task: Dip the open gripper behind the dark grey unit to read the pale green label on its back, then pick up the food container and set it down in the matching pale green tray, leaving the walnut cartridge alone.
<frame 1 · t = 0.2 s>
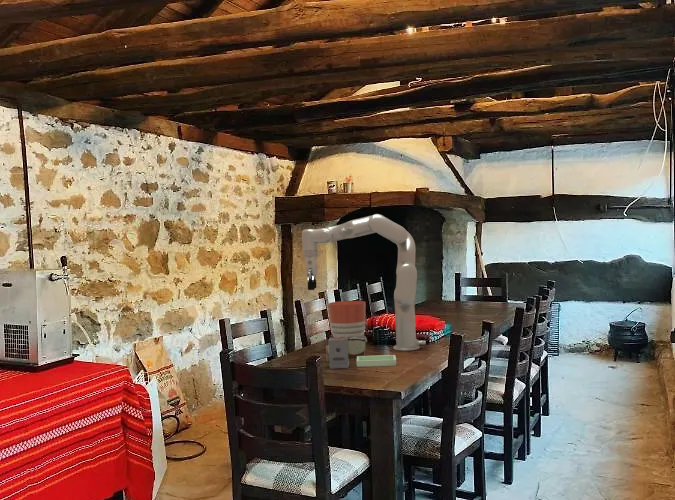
hand: (312, 289, 300), 31 cm above the table, tool pointing down, fingers open, 9 cm apart
food container: (356, 358, 281), on the table
walnut cartridge: (332, 361, 276), on the table
planter: (348, 343, 321), on the table
unit: (339, 366, 264), on the table
tray: (376, 363, 266), on the table
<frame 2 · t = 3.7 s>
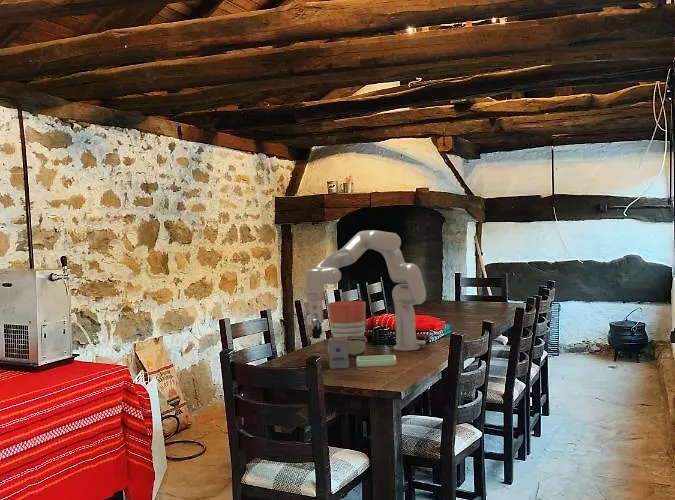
hand: (317, 336, 264), 13 cm above the table, tool pointing down, fingers open, 9 cm apart
nothing on the table moved.
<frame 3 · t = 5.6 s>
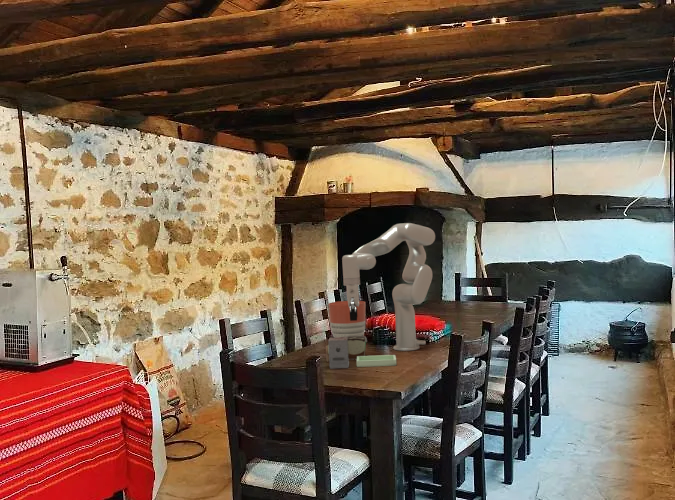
hand: (353, 319, 280), 18 cm above the table, tool pointing down, fingers open, 9 cm apart
nothing on the table moved.
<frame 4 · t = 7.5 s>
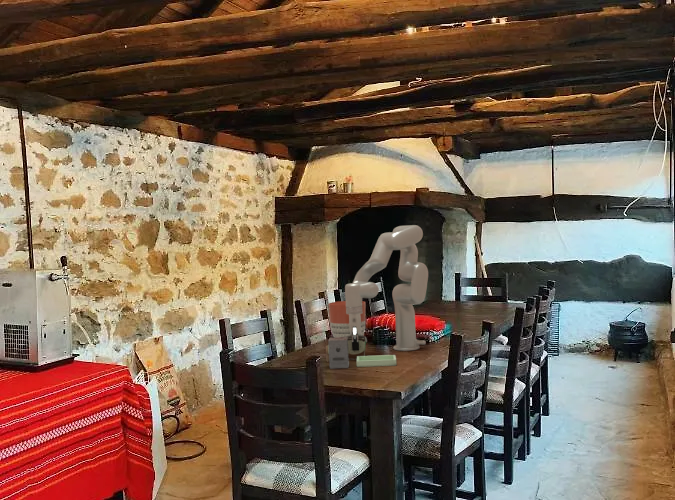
hand: (355, 348, 280), 4 cm above the table, tool pointing down, fingers closed on food container, 6 cm apart
food container: (356, 358, 281), on the table, touching gripper
everything else where it was.
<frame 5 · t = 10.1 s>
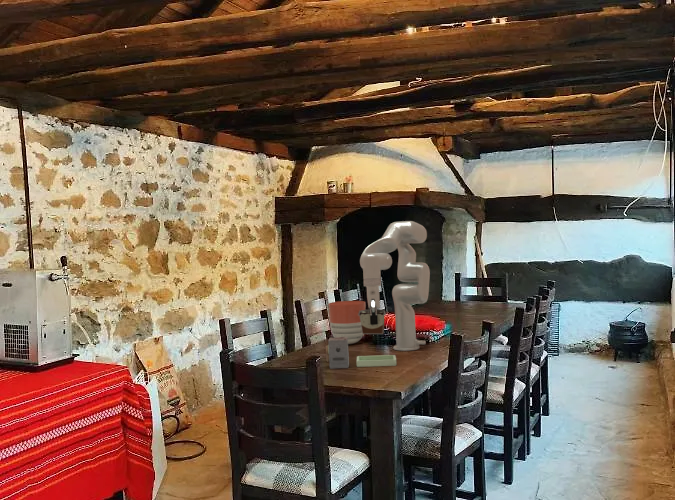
hand: (374, 323, 266), 18 cm above the table, tool pointing down, fingers closed on food container, 6 cm apart
food container: (374, 333, 266), point 13 cm above the table, touching gripper
everything else where it was.
when the fingers open (6 cm above the table, at t = 12.8 s): food container drops 1 cm, resting on tray.
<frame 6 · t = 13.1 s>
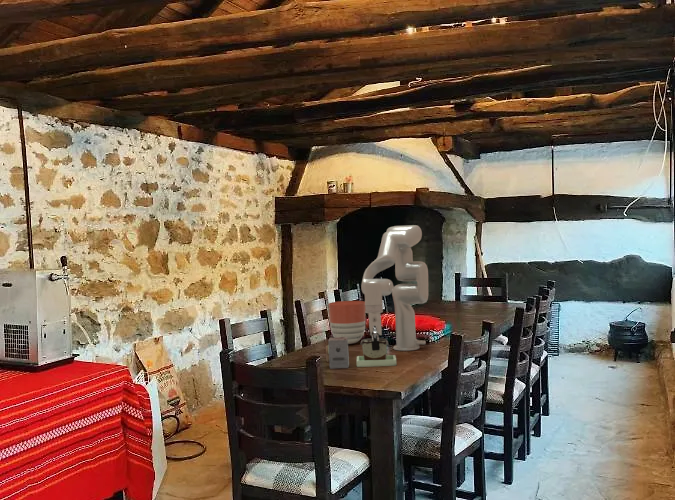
hand: (375, 348, 266), 7 cm above the table, tool pointing down, fingers open, 9 cm apart
food container: (376, 362, 267), resting on tray
everything else where it was.
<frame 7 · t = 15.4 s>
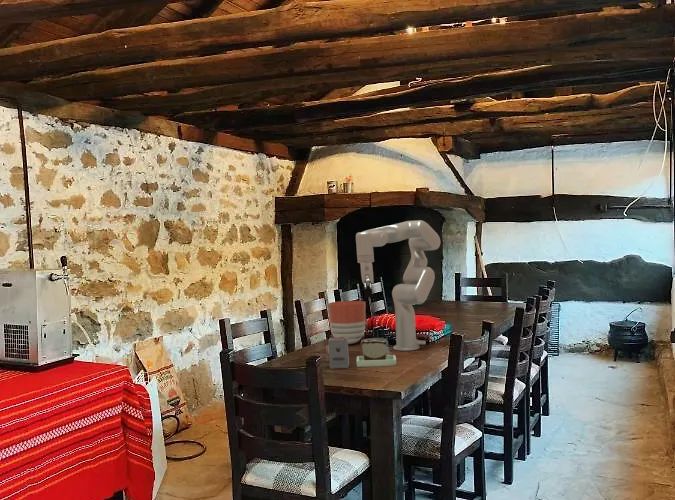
hand: (368, 296, 279), 28 cm above the table, tool pointing down, fingers open, 9 cm apart
nothing on the table moved.
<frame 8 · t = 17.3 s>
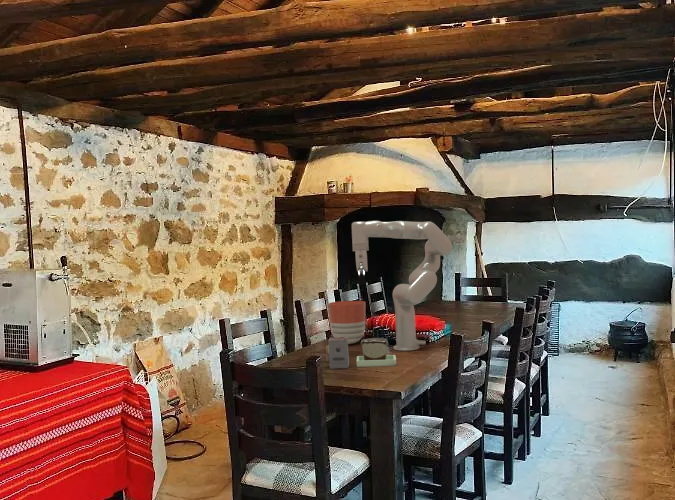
hand: (362, 283, 289), 33 cm above the table, tool pointing down, fingers open, 9 cm apart
nothing on the table moved.
at the end: food container inside the target area on the tray (0.8 cm from its centre), point 0.4 cm above the tray's base; food container tilted 0°; the gripper is holding nothing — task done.
